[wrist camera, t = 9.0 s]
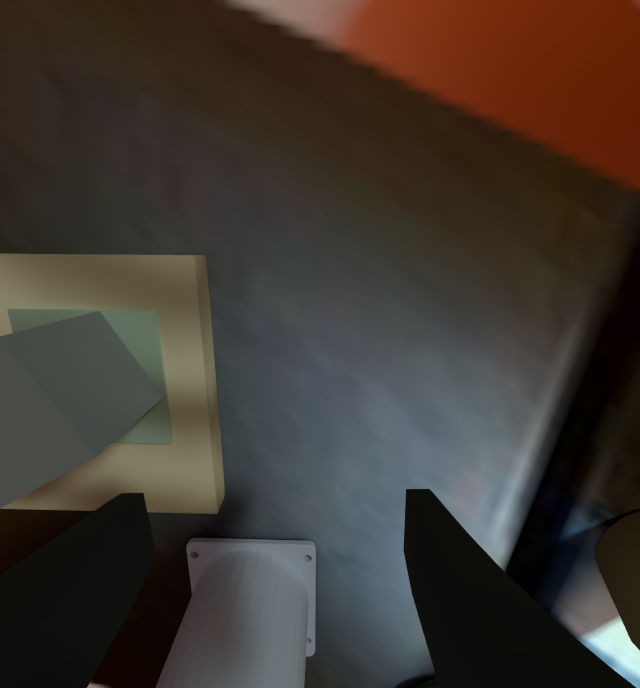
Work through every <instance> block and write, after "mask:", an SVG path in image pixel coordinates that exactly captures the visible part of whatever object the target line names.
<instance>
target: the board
mask: <svg viewBox="0 0 640 688" xmlns="http://www.w3.org/2000/svg"><path fill="white" fill-rule="evenodd" d="M96 311H100V312H101V313H102V315H103V316H104V317H105V319H106V320H107V321H108V323H109V324H110V325H111V327H112V328H113V330H114V331H115V332H116V334H117V335H118V336H119V338H120V339H121V340H122V342H123V343H124V344H125V346H126V347H127V349H128V350H129V351H130V353H131V354H132V355H133V357H134V358H135V359H136V361H137V362H138V363H139V365H140V366H141V367H142V369H143V370H144V372H145V373H146V374H147V376H148V377H149V378H150V380H151V381H152V382H153V384H154V385H155V386H156V388H157V389H158V391H159V392H160V393H161V395H162V396H163V398H162V399H161V400H160V401H159V402H157V403H156V404H155V405H154V406H153V407H152V408H151V409H149V410H148V411H147V412H146V413H145V414H144V415H143V416H142V417H140V418H139V419H138V420H137V421H136V422H135V423H134V424H133V425H131V426H130V427H129V428H128V429H127V430H126V431H125V432H123V433H122V434H121V435H120V436H119V437H118V438H117V439H116V440H114V441H113V442H112V443H111V444H110V445H109V446H108V447H107V448H105V449H104V450H103V451H102V452H101V453H100V454H99V455H97V456H96V457H94V458H93V459H91V460H89V461H87V462H85V463H83V464H81V465H80V466H78V467H76V468H74V469H72V470H70V471H69V472H67V473H65V474H63V475H61V476H59V477H58V478H56V479H54V480H52V481H50V482H48V483H46V484H45V485H43V486H41V487H39V488H37V489H35V490H34V491H32V492H30V493H28V494H26V495H24V496H23V497H21V498H19V499H17V500H15V501H13V502H11V503H10V504H8V505H6V506H4V507H2V508H0V509H41V510H82V511H95V510H96V509H98V508H99V507H101V506H102V505H104V504H105V503H107V502H108V501H110V500H111V499H113V498H114V497H116V496H118V495H119V494H121V493H143V494H144V498H145V503H146V508H147V512H165V513H206V514H217V513H218V511H219V509H220V506H221V504H222V501H223V499H224V497H225V486H224V474H223V461H222V449H221V436H220V424H219V412H218V399H217V387H216V374H215V362H214V349H213V337H212V325H211V312H210V300H209V287H208V275H207V263H206V255H113V254H0V336H4V335H7V334H11V333H15V332H19V331H23V330H27V329H31V328H34V327H38V326H42V325H46V324H50V323H54V322H58V321H61V320H65V319H69V318H73V317H77V316H81V315H85V314H88V313H92V312H96Z"/></svg>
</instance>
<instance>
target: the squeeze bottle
mask: <svg viewBox="0 0 640 688" xmlns="http://www.w3.org/2000/svg"><path fill="white" fill-rule="evenodd" d="M595 560H596V562H597V565H598V568H599V570H600V573H601V575H602V577H603V579H604V582H605V584H606V586H607V588H608V590H609V593H610V595H611V597H612V599H613V602H614V604H615V606H616V608H617V610H618V613H619V615H620V617H621V619H622V622H623V624H624V626H625V628H626V630H627V633H628V635H629V637H630V639H631V641H632V642H633V643H634V645H635V646H636V647H637V648H638V649H639V650H640V511H639V512H636V513H633V514H630V515H628V516H625V517H623V518H622V519H620V520H619V521H617V522H616V523H615V524H613V525H612V526H611V527H609V528H608V529H607V530H606V532H605V533H604V535H603V536H602V538H601V539H600V541H599V542H598V543H597V549H596V555H595Z"/></svg>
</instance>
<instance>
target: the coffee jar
mask: <svg viewBox="0 0 640 688" xmlns="http://www.w3.org/2000/svg"><path fill="white" fill-rule="evenodd" d="M413 688H440V687H439V683H438V680H437V679H433V680H430V681H428V682H426V683H423V684H420V685H418V686H415V687H413Z"/></svg>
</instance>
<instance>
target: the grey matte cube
mask: <svg viewBox="0 0 640 688" xmlns="http://www.w3.org/2000/svg"><path fill="white" fill-rule="evenodd" d="M162 398H163V396H162V395H161V393H160V392H159V391H158V389H157V388H156V386H155V385H154V384H153V382H152V381H151V380H150V378H149V377H148V376H147V374H146V373H145V372H144V370H143V369H142V367H141V366H140V365H139V363H138V362H137V361H136V359H135V358H134V357H133V355H132V354H131V353H130V351H129V350H128V349H127V347H126V346H125V344H124V343H123V342H122V340H121V339H120V338H119V336H118V335H117V334H116V332H115V331H114V330H113V328H112V327H111V325H110V324H109V323H108V321H107V320H106V319H105V317H104V316H103V315H102V313H101V312H100V311H96V312H92V313H88V314H85V315H81V316H77V317H73V318H69V319H65V320H61V321H58V322H54V323H50V324H46V325H42V326H38V327H34V328H31V329H27V330H23V331H19V332H15V333H11V334H7V335H4V336H0V508H2V507H4V506H6V505H8V504H10V503H11V502H13V501H15V500H17V499H19V498H21V497H23V496H24V495H26V494H28V493H30V492H32V491H34V490H35V489H37V488H39V487H41V486H43V485H45V484H46V483H48V482H50V481H52V480H54V479H56V478H58V477H59V476H61V475H63V474H65V473H67V472H69V471H70V470H72V469H74V468H76V467H78V466H80V465H81V464H83V463H85V462H87V461H89V460H91V459H93V458H94V457H96V456H97V455H99V454H100V453H101V452H102V451H103V450H104V449H105V448H107V447H108V446H109V445H110V444H111V443H112V442H113V441H114V440H116V439H117V438H118V437H119V436H120V435H121V434H122V433H123V432H125V431H126V430H127V429H128V428H129V427H130V426H131V425H133V424H134V423H135V422H136V421H137V420H138V419H139V418H140V417H142V416H143V415H144V414H145V413H146V412H147V411H148V410H149V409H151V408H152V407H153V406H154V405H155V404H156V403H157V402H159V401H160V400H161V399H162Z"/></svg>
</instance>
